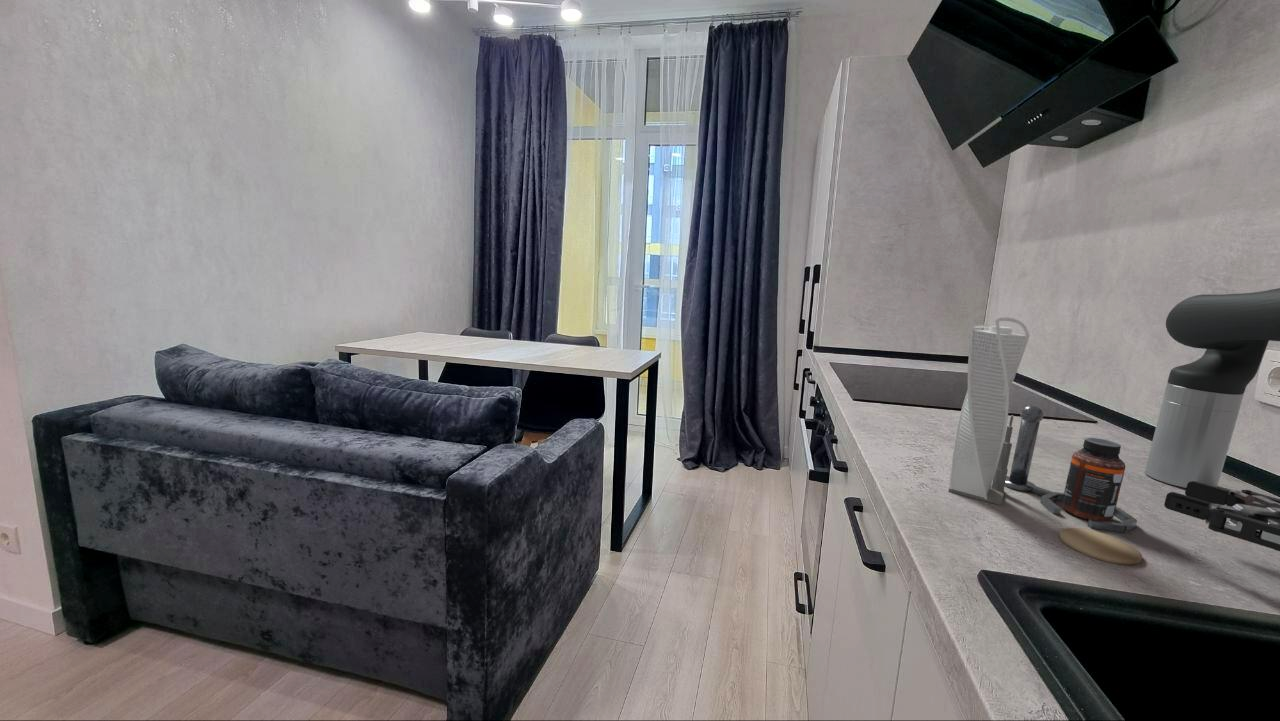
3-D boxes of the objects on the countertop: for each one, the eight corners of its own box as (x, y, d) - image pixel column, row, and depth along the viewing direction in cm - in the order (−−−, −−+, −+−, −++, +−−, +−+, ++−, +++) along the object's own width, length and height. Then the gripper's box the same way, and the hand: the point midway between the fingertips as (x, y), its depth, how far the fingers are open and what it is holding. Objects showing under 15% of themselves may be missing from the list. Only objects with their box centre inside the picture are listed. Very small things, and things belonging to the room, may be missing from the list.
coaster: (1074, 527, 73) (1075, 523, 73) (1150, 555, 67) (1151, 551, 66) (1048, 539, 69) (1049, 535, 69) (1127, 571, 62) (1128, 566, 62)
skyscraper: (1000, 508, 78) (1039, 321, 73) (939, 491, 82) (970, 314, 77) (1003, 491, 84) (1039, 318, 79) (946, 476, 89) (976, 312, 84)
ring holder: (1009, 477, 91) (1025, 400, 88) (1143, 522, 76) (1167, 431, 74) (979, 486, 86) (995, 405, 83) (1117, 537, 71) (1141, 440, 68)
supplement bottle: (1122, 527, 74) (1141, 451, 72) (1075, 520, 75) (1092, 445, 73) (1095, 508, 80) (1112, 437, 78) (1052, 502, 81) (1067, 432, 79)
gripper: (1403, 509, 59) (1199, 458, 72) (1390, 536, 51) (1166, 475, 65) (1381, 569, 60) (1185, 509, 74) (1365, 605, 53) (1151, 530, 66)
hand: (1176, 493), depth 69 cm, fingers open, 8 cm apart
